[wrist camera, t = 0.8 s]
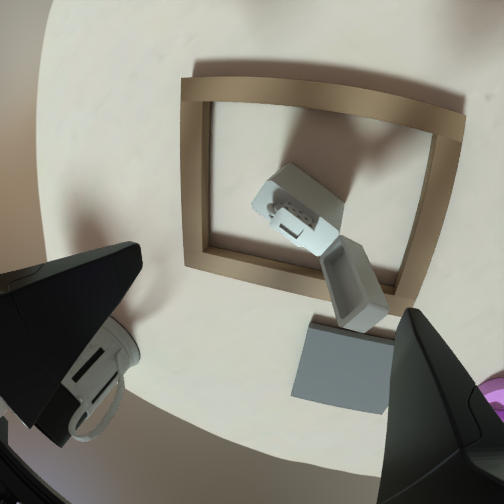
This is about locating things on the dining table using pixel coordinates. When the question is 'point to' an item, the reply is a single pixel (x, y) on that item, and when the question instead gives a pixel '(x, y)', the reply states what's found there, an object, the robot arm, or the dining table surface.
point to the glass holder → (90, 385)
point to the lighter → (324, 244)
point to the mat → (345, 369)
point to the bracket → (494, 393)
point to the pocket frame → (323, 98)
